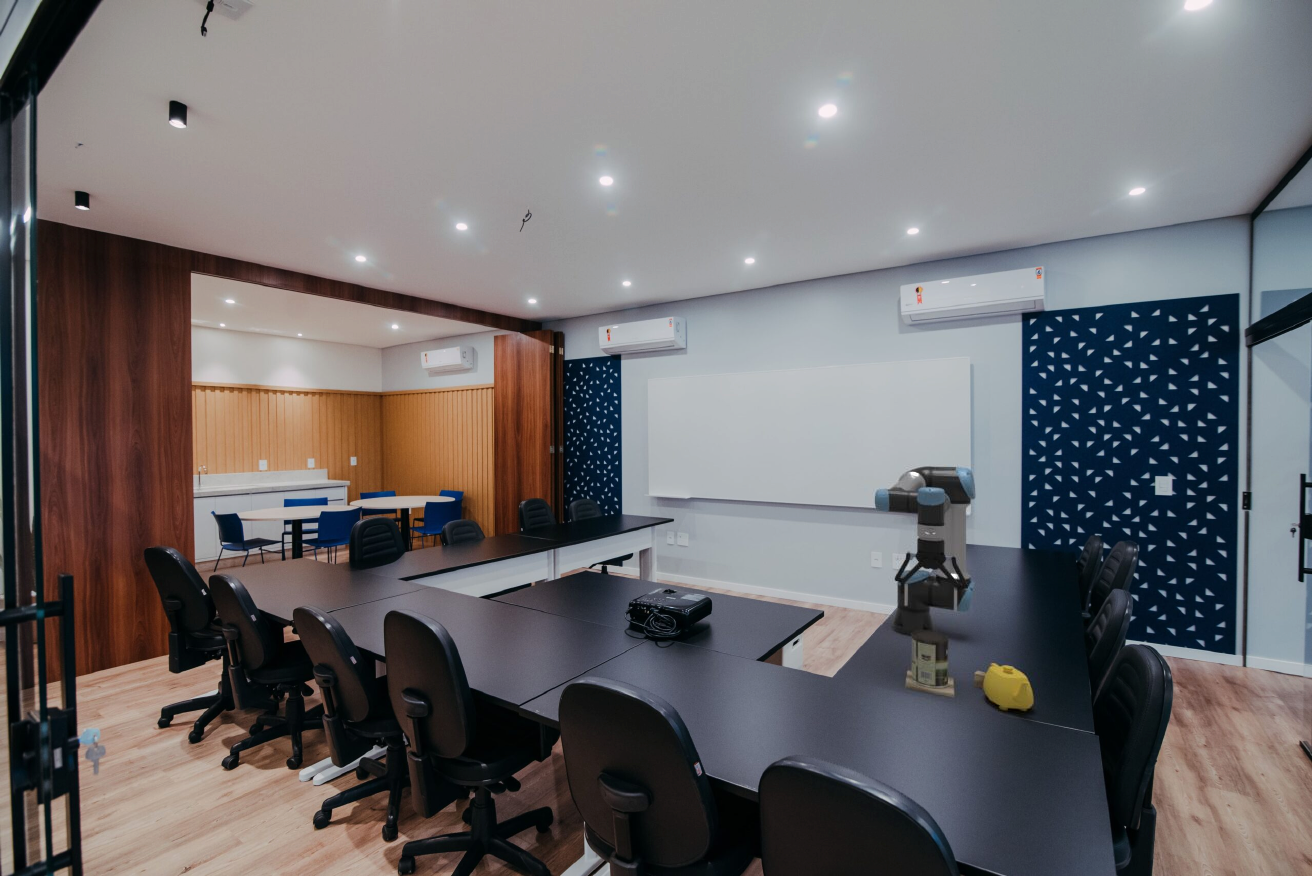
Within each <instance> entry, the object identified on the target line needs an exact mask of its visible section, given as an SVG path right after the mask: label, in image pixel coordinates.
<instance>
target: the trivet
mask: <svg viewBox="0 0 1312 876" xmlns="http://www.w3.org/2000/svg"><path fill="white" fill-rule="evenodd" d="M911 677H912V669H910V670H909V669H907V672H906V678H905V687H904V688H905V689H908V690H913V691H918V692H922V693H923V692H924V693H929V694H934V695H940V696H944V697H949V698H955V685H954V677H950V676H948V686H947V687H946V688H941V689H934V688H928V687H924V686H921V685H918V684H916V683H915V682H913V681H912V679H911Z"/></svg>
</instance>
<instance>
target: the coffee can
mask: <svg viewBox="0 0 1312 876" xmlns="http://www.w3.org/2000/svg"><path fill="white" fill-rule="evenodd" d="M911 667H912V669H911V671H912V677H911V679H912V681H913V682H915V683H916V684H918V685H921V686H924V687H928V688H934V689H941V688H946V687H947V686H948V677H949V637H948V636H947V635H945V634H944V633H941V632H937V631H935V632H933V631H926V630H918V631H913V632H912V633H911Z"/></svg>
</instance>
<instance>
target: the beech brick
mask: <svg viewBox="0 0 1312 876" xmlns="http://www.w3.org/2000/svg"><path fill="white" fill-rule="evenodd" d="M986 673H987V672H984V671H982V670H981V671H980V670H976V671H975V672H974V681H973V682H974V683H973V684H974V685H973V686H974V687H975V688H976V687H977V688H979V689H983V683H984V678H985V675H986ZM983 690H984V689H983Z"/></svg>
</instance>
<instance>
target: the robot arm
mask: <svg viewBox="0 0 1312 876" xmlns="http://www.w3.org/2000/svg"><path fill="white" fill-rule="evenodd" d="M975 485H976V483H975V479H974V475H973V472H972V470H971V469H970V468H968V467H959V466H920V467H916V468H913V469H911V470H907V471H906V472H904V473H903V474H902V475H901V476H900V477H899V478H898V482H896V483H895V484H894V485H893V486H892V487H891V488H889V489H888V488H879V489H876V491H875V495H874V507H875V509H876V510H877V512H879V511H880V512H886V513H901V514H912V515H913V514H914V515H915V514H916V515H917V524H916V525H917V528H916V529H917V533H916V534H917V537H918V538H917V540H916V541H917V543H916V544H917V547H916V548H917V549H916V553H914V552H911V551H907V552H906V553H905V559H904V560H903V563H902V564H901V566H900V567H899V570H898V571H897V572H896V575H894V581H895V582H897V583H896V585H897V602H896V603H897V606H896V607H897V609H896V612H895V614H894V618H893V620H892V629H893V630H894V631H895V632H896V633H899V634H902V635H906V636H911V633H912V632H913V631H918V630H926V631H933V632H936V631H935V630H936V629H935V624H934V620H933V617H932V616H931V609H930V608H936V609H943V610H948V611H949V610H950V611H953V612H955V613H957V612H964V613H967V612H970V610H972V609H971V608H972V605H973V600H974V595H975V589H976V588H975V587H976V582H975V581H973V580H972V579H971V575H970V574H969V573H968V572H967V508H968V507H969V506H970V505H972V504H971V503H972V501H973V500H975V499H976V486H975ZM914 558H915V559H916V560H917V563H916V564H915V565H914V566H913V567H912V568H911V569H910V570H906V568H907V567H908V565H909V562H910V561H912V560H913V559H914ZM921 568H923V569H921ZM929 570H933V571H934V570H936V573H935V576H934V575H932V574H931V572H930V571H929ZM911 637H912V636H911Z"/></svg>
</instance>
